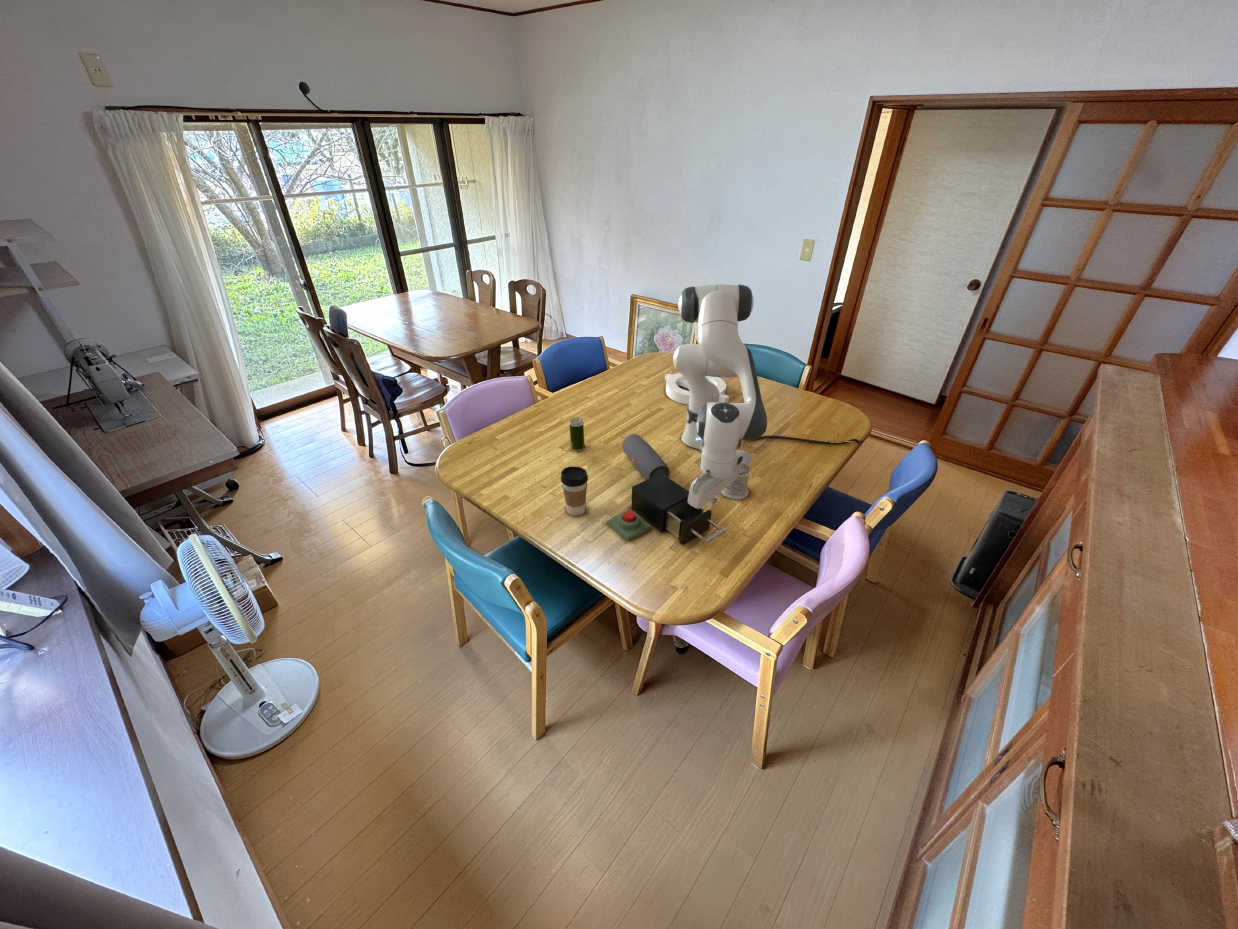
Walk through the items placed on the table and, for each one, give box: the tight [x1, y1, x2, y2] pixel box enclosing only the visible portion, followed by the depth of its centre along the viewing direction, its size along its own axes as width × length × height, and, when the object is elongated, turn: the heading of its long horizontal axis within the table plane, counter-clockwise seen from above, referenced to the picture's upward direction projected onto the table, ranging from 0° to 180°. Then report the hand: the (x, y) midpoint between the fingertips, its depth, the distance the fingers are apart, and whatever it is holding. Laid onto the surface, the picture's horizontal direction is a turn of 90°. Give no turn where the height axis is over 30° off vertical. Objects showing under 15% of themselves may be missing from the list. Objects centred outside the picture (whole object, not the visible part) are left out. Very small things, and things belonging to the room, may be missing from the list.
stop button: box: [623, 510, 636, 522], centre depth 148 cm, size 4×4×2 cm
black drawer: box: [663, 499, 727, 546], centre depth 145 cm, size 21×11×7 cm, turn 38°
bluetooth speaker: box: [621, 433, 671, 480], centre depth 173 cm, size 23×9×10 cm, turn 23°
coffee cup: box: [560, 466, 589, 516], centre depth 153 cm, size 8×8×15 cm
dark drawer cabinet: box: [630, 473, 690, 534], centre depth 153 cm, size 15×13×9 cm
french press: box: [720, 440, 753, 500], centre depth 160 cm, size 10×12×25 cm
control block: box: [607, 508, 652, 542], centre depth 149 cm, size 10×9×4 cm
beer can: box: [568, 417, 585, 452], centre depth 185 cm, size 5×5×12 cm
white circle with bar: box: [664, 372, 730, 406], centre depth 229 cm, size 28×28×5 cm
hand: (711, 504), depth 135 cm, fingers closed
